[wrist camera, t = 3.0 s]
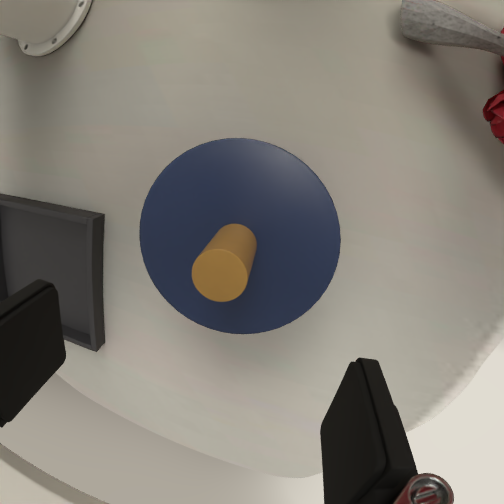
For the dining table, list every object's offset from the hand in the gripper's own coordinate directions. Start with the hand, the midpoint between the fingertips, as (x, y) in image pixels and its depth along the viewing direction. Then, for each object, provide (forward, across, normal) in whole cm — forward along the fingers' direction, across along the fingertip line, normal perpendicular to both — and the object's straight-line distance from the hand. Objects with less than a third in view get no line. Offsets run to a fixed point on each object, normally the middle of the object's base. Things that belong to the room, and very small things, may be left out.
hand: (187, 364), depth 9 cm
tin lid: (+13, 0, 0) cm, 13 cm away
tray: (+24, +27, +12) cm, 37 cm away
